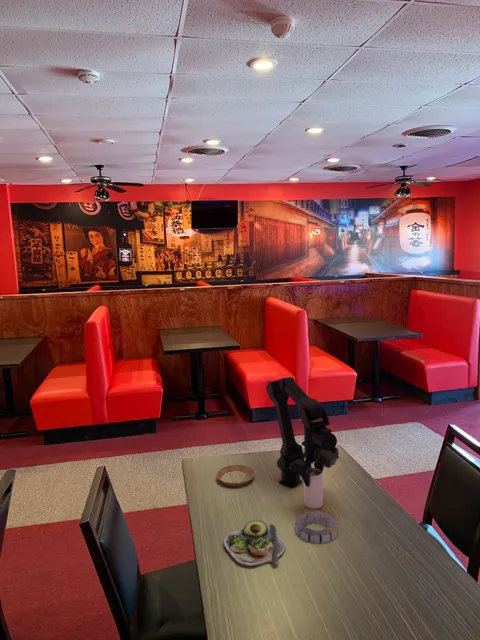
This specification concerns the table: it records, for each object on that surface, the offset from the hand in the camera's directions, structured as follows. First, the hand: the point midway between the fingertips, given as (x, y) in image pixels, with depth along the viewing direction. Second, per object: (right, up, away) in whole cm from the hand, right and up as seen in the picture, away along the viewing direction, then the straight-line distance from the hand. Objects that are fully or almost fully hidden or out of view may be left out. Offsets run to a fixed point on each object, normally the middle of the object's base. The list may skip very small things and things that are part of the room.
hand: (313, 482), depth 159 cm
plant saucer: (-27, -6, +21) cm, 34 cm away
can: (0, -8, +1) cm, 8 cm away
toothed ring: (-1, -10, -14) cm, 17 cm away
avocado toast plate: (-21, -13, -20) cm, 31 cm away
